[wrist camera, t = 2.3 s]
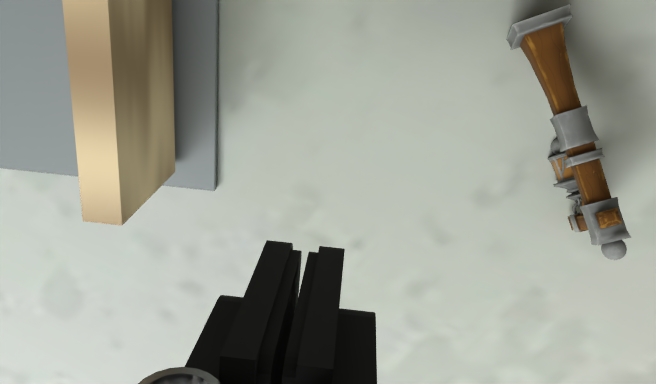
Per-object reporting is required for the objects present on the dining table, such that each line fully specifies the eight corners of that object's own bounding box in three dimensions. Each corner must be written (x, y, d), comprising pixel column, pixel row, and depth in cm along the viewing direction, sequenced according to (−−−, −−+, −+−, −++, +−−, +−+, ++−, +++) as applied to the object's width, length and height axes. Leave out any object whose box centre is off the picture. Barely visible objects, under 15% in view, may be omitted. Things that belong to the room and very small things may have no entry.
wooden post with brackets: (563, 256, 21) (594, 270, 16) (499, 59, 21) (512, 22, 17) (612, 243, 20) (658, 254, 16) (545, 43, 21) (572, 1, 17)
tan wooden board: (114, -210, 16) (12, -284, 12) (180, -205, 16) (104, -277, 12) (134, 167, 21) (66, 222, 16) (185, 172, 21) (132, 229, 16)
